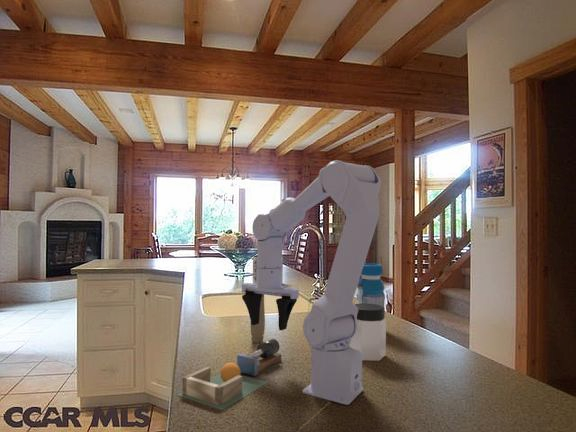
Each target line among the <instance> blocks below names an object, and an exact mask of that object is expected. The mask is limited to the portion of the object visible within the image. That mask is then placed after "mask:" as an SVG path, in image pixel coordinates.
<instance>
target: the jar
mask: <svg viewBox="0 0 576 432" xmlns="http://www.w3.org/2000/svg"><path fill="white" fill-rule="evenodd" d="M354 304H355V305H356V307H357V308H358V313H357V331H356V333H355V335H354V336H353V337H352V338H351V344H349V346H350V347H351V348H353V349H356V350H359V351H360V352H361V355H362V361H364V362H365V361H374V362H379V361H381V360H382V359H383V358H384V357H385V356H386V354H387V353H386V347H387V339H386V338H387V326H386V325H387V318H386V313H385V306H384V307H383V306H381V305H376V304H367V303H361V304H357V303H354Z"/></svg>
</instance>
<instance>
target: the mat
mask: <svg viewBox="0 0 576 432" xmlns="http://www.w3.org/2000/svg"><path fill="white" fill-rule="evenodd" d="M240 376H242V393H240V394H238V395H237V396H235V397H233V398H231V399H230V400H228V401H226V402H225V403H223V404H221V405H216V404H213V403H210V402H207V401H204V400H201V399H198V398H195V397H192V396H189V395H186V394H183V393H182V392H183V391H181V392H179V393H177V394H176V396H178V397H182V398H184V399H187V400H190V401H194V402H195V403H199V404H202V405H205V406H207V407H211V408H213V409H217V410H220V411H223V410H226V409H227V408H228V407H229V408H230V406H232V405H233V404H235V403H237V402H238V401H240V400H242V399H243V398H245V397H246V396H248V395H250V394H251V393H253V392H255V391H256V390H258V389H260V388H262V387H263V386H265V385H266V384H268V381H264V380H261V379H257V378H253V377H250V376H245V375H241V374H240ZM210 383H213V384H217V385H220V384H222V383H224V381H223V380H222V379H221V375H220V373H219V374H216V375H215V376H212V377H210Z"/></svg>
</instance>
